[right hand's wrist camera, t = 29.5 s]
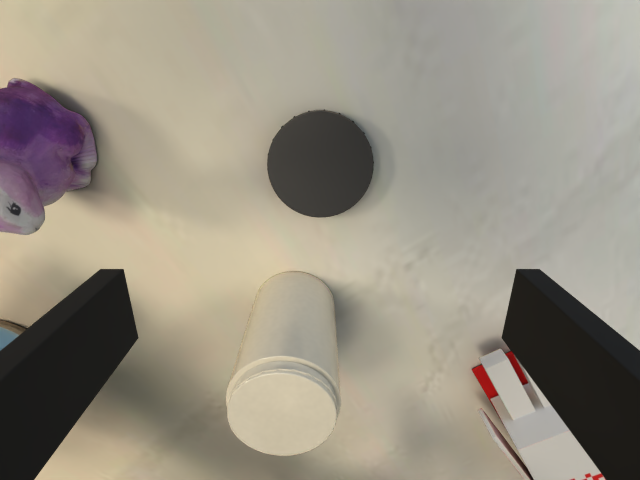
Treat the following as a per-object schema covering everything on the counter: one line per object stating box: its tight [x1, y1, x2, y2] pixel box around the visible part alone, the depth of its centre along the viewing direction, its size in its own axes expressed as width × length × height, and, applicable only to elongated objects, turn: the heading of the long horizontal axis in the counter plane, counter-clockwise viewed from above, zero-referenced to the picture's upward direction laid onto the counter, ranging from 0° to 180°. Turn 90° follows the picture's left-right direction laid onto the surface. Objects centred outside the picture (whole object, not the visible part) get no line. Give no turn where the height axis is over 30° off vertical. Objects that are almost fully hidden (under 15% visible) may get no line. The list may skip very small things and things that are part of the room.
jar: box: [226, 271, 341, 456], centre depth 37 cm, size 9×9×16 cm
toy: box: [472, 348, 606, 480], centre depth 46 cm, size 12×13×30 cm
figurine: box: [0, 78, 97, 235], centre depth 30 cm, size 9×10×15 cm
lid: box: [267, 110, 374, 217], centre depth 37 cm, size 10×10×2 cm
